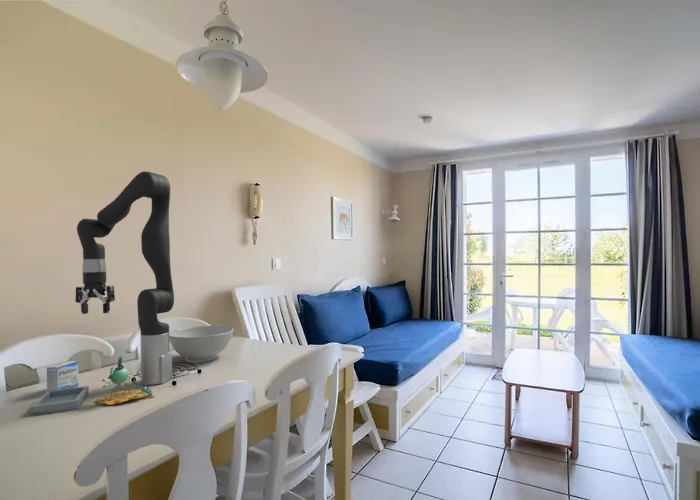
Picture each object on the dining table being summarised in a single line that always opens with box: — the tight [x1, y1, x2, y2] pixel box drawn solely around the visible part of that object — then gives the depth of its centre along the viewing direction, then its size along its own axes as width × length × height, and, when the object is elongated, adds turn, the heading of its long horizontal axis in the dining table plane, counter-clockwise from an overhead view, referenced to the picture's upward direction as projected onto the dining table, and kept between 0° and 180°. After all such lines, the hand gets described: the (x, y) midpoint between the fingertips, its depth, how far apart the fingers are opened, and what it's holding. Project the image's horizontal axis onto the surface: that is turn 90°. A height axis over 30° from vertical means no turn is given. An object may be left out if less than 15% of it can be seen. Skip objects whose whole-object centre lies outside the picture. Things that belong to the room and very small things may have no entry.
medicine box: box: [46, 360, 79, 392], centre depth 129 cm, size 8×4×9 cm, turn 168°
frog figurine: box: [92, 355, 156, 406], centre depth 118 cm, size 10×18×15 cm, turn 91°
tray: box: [31, 385, 90, 417], centre depth 116 cm, size 11×14×2 cm
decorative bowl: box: [169, 324, 234, 363], centre depth 166 cm, size 27×27×12 cm
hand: (95, 313), depth 145 cm, fingers open, 8 cm apart
